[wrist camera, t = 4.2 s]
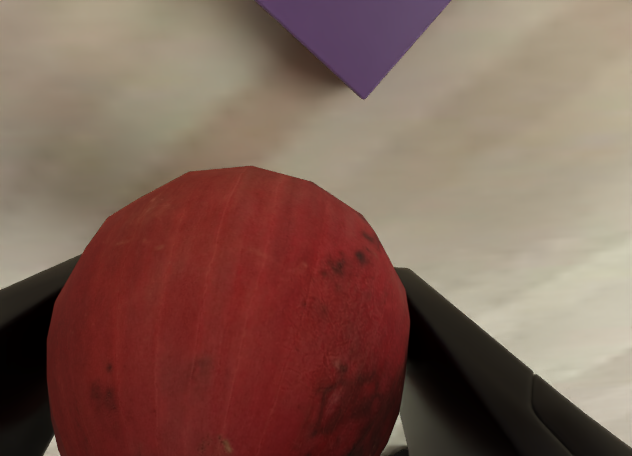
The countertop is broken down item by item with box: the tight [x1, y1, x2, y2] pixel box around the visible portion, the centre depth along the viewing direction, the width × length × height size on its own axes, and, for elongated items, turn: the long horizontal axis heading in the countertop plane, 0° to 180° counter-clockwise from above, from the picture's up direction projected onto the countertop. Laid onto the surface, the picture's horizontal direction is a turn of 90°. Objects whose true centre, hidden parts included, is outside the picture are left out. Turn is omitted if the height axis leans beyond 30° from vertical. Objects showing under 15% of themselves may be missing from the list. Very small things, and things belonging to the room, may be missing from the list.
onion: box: [47, 166, 410, 456], centre depth 7 cm, size 6×6×8 cm
